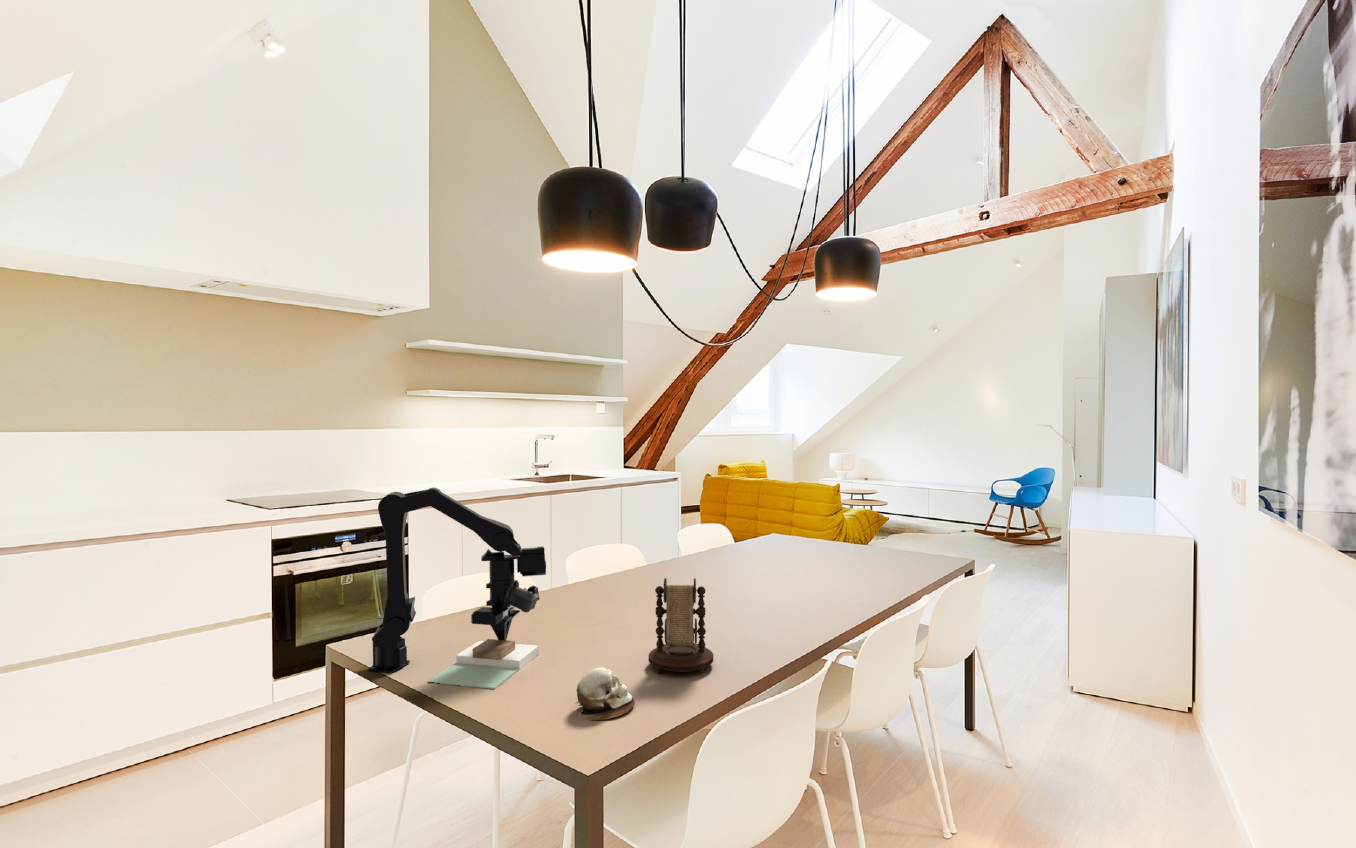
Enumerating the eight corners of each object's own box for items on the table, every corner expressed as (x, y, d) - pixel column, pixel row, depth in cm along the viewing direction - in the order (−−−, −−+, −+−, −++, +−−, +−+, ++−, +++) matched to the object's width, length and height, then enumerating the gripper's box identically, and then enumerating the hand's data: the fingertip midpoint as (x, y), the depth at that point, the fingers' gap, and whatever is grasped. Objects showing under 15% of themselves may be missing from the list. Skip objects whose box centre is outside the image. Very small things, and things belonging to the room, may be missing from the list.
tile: (472, 657, 151) (472, 649, 151) (488, 647, 158) (488, 639, 158) (500, 660, 149) (500, 651, 149) (515, 649, 156) (515, 641, 156)
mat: (427, 682, 142) (427, 681, 142) (455, 664, 153) (455, 663, 153) (494, 689, 138) (494, 687, 138) (519, 670, 149) (519, 668, 149)
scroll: (645, 678, 143) (644, 586, 143) (651, 654, 158) (651, 570, 158) (713, 679, 143) (712, 586, 142) (713, 654, 157) (712, 570, 157)
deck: (456, 664, 153) (456, 655, 153) (479, 649, 162) (479, 641, 162) (519, 669, 149) (519, 660, 149) (539, 654, 159) (539, 645, 159)
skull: (629, 684, 138) (635, 660, 131) (633, 735, 130) (639, 712, 123) (571, 688, 135) (573, 663, 128) (572, 740, 128) (574, 716, 121)
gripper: (514, 589, 147) (515, 659, 147) (549, 570, 165) (550, 632, 165) (469, 587, 149) (470, 656, 150) (508, 568, 167) (509, 629, 168)
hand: (502, 643), depth 158 cm, fingers closed
